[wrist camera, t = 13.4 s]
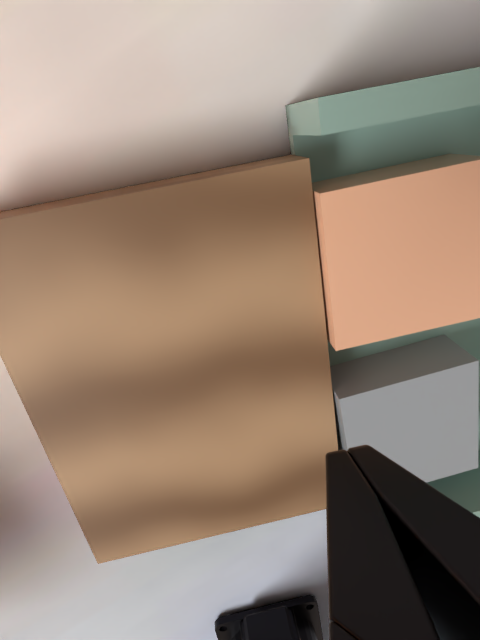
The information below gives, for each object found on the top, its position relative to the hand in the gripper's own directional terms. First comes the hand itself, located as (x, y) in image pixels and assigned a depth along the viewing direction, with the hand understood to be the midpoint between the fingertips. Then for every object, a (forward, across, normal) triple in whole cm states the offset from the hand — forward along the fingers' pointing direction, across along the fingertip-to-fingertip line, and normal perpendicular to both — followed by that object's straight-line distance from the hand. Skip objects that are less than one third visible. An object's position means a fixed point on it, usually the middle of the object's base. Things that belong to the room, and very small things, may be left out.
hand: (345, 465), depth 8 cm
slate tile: (+10, -6, +7) cm, 14 cm away
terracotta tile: (+10, -5, -1) cm, 12 cm away
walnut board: (+11, +4, +3) cm, 12 cm away
